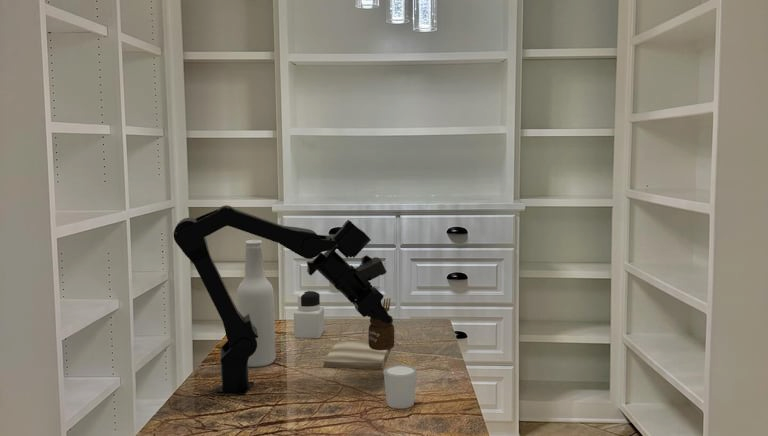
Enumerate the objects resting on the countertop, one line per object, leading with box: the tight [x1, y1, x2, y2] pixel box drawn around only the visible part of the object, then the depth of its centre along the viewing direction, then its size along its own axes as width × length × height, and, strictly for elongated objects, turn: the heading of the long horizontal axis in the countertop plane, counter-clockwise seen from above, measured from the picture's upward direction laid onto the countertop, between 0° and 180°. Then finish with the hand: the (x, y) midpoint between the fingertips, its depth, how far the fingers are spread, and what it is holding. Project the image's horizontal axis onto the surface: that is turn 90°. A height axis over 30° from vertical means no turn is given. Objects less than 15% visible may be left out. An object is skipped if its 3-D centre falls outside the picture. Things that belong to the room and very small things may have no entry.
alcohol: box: [236, 239, 277, 368], centre depth 162 cm, size 9×9×30 cm
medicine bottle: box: [293, 290, 325, 339], centre depth 186 cm, size 7×7×12 cm
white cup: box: [383, 364, 418, 410], centre depth 137 cm, size 7×7×7 cm
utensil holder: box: [367, 298, 395, 350], centre depth 152 cm, size 6×6×12 cm
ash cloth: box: [323, 340, 391, 370], centre depth 167 cm, size 16×14×2 cm
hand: (387, 318), depth 153 cm, fingers closed on utensil holder, 6 cm apart
